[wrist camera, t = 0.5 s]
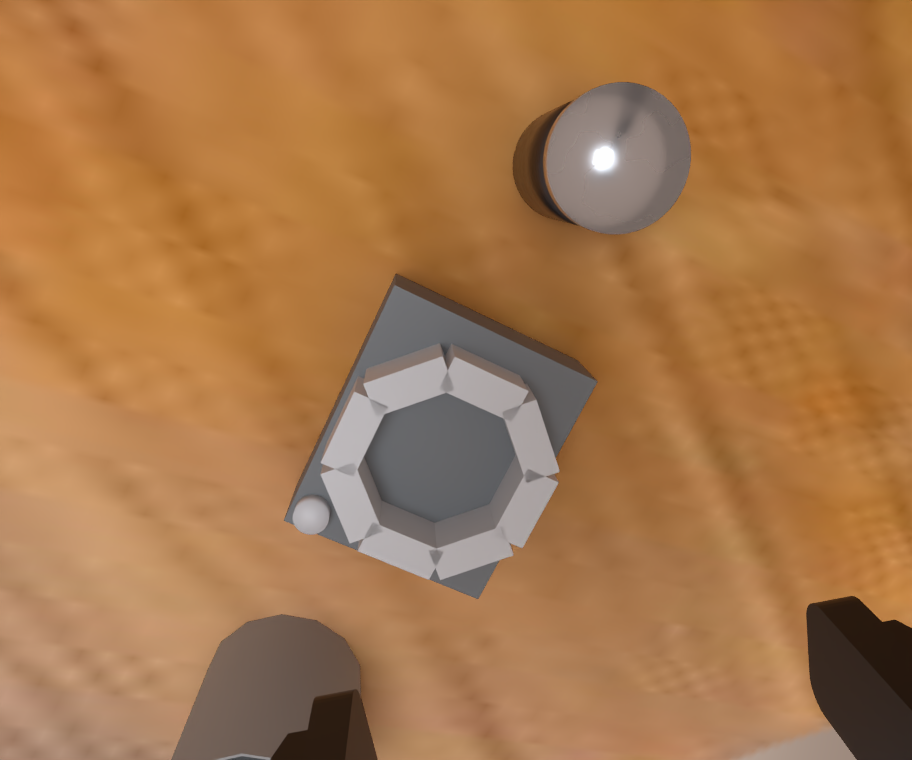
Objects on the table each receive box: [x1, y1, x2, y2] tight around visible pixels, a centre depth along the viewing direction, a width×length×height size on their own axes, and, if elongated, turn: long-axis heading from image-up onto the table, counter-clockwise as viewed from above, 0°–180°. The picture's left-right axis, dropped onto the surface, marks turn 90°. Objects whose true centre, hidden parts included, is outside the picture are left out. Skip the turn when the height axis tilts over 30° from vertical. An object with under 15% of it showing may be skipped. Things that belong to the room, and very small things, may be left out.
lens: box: [513, 82, 691, 234], centre depth 30 cm, size 5×5×9 cm
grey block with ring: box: [284, 274, 597, 599], centre depth 34 cm, size 12×10×6 cm
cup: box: [171, 614, 361, 760], centre depth 36 cm, size 8×8×10 cm
